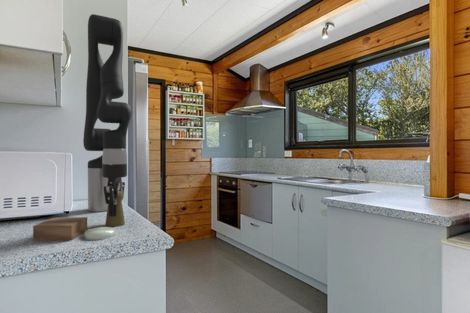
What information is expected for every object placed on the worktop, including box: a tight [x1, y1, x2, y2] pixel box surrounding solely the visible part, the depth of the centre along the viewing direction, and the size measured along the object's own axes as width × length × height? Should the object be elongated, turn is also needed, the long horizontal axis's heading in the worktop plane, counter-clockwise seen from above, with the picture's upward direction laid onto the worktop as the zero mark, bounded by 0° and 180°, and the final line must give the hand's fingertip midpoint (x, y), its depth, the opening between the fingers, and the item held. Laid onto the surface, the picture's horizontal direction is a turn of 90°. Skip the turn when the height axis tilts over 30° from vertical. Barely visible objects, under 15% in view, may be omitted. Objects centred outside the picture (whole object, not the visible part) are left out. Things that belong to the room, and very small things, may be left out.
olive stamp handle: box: [104, 191, 126, 228], centre depth 98 cm, size 6×6×11 cm
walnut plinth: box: [32, 216, 88, 242], centre depth 86 cm, size 10×10×4 cm
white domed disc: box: [83, 226, 116, 241], centre depth 86 cm, size 8×8×2 cm
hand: (115, 214), depth 98 cm, fingers closed on olive stamp handle, 4 cm apart
